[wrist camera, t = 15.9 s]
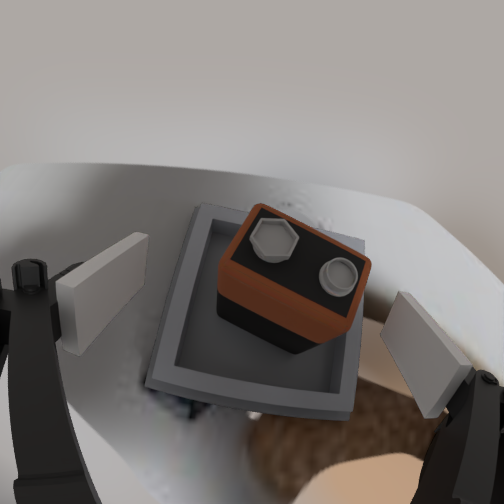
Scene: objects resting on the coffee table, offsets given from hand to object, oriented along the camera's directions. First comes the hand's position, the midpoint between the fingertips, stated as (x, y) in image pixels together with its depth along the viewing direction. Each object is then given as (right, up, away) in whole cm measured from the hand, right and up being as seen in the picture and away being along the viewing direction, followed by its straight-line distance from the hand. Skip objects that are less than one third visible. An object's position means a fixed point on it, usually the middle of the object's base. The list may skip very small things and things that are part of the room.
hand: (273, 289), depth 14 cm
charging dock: (0, -3, +8) cm, 9 cm away
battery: (0, -3, +8) cm, 8 cm away
